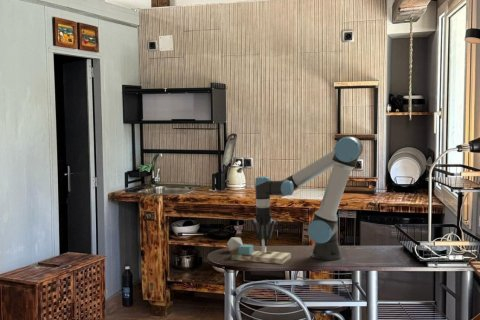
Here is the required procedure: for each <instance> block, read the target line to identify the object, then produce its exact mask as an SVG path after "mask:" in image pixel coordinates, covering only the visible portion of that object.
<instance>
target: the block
mask: <svg viewBox="0 0 480 320" xmlns="http://www.w3.org/2000/svg"><path fill="white" fill-rule="evenodd" d="M254 247H255V246H254V245H253V244H245V243H244V244H243V245H241V246H239V254H243V255H250V254H252V253H254V251H255V250H254Z"/></svg>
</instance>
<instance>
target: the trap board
mask: <svg viewBox="0 0 480 320" xmlns="http://www.w3.org/2000/svg"><path fill="white" fill-rule="evenodd" d="M240 246H241V245H240ZM229 252H230V260H231V261H232V260H233V261H240V262H241V261H242V262H245V261H246V262H253V263H265V264H267V263H268V264H278V265H279V264H280V265H283V264H284V263H286V262H287V261H289V260H290V259H291V258H292V257H291V256H292V254H291V252H282V251H267V250H266V252H265V253H262V250H254V253H252V254H250V255H243V254H239V246H238V247H236V248H234V249H233V250H231V251H229Z"/></svg>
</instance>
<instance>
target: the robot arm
mask: <svg viewBox="0 0 480 320" xmlns="http://www.w3.org/2000/svg"><path fill="white" fill-rule="evenodd" d="M363 149H364V146H363V144H362V141H361V140H360V139H359V138H357V137H356V136H343V137H342V138H340V139H338V141H337V142H336V144H335V145H334V147H333V149H332V151H330V152H328V153H327V154H325V155H323V156H322V157H319V158H318V159H317V160H315V161H312V163H310V164H308V165H306V166H305V167H303V168H302V169H299V170H298V171H297V172H295V173H292V175H290V176H288V177H286V178H284V179H281V180H271V179H270V177H269V176H257V177H256V178H255V181H254V183H255V185H254V187H255V189H254V190H255V191H254V192H255V218H254V219H251V221H250V222H251V224H252V225H253V230H254V233H255V237H256V239H257V240H259V245H260V246H261V251H262V253H265V252H266V251H267V247H268V246H269V240H270V239H271V238H272V236H273V232H274V226H275V224H276V223H277V220H276V219H275V220H274V219H273V218H272V216H271V214H272V213H271V196H280V197H281V196H282V197H283V196H284V197H288V196H290V197H291V196H292V195H293V194H294V191H295V190H297V189H299V188H301V187H303V186H304V185H306V184H307V183H309V182H311V181H312V180H314V179H316V178H318V177H320V176H321V175H323V174H324V173H327V172H328V171H329V170H331V172H330V176H329V178H328V180H327V184H326V187H325V191H324V193H323V196H322V200H321V203H320V204H319V205H320V206H319V209H318V210H315V211H314V214H313V217H312V220H311V222H310V224H309V225H308V228H307V235H308V237H309V239H310V240H311V241H313V242H314V245H313V248H312V250H311V257H312V258H313V259H316V260H322V261H323V260H324V261H333V260H340V259H341V258H342V252H341V251H342V250H341V248H340V246H339V241H338V238H339V237H338V235H339V233H338V232H339V231H338V229H339V225H338V223H339V222H338V221H339V216H338V214H337V213H338V210H339V206H340V203H341V200H342V197H343V195H344V191H345V190H346V189H345V188H346V185H347V182H348V180H349V177H350V175H351V174H350V173H351V171H352V170H353V169H355V168H356V166H357V163H358V161H359V158H360V157H361V155H362V154H363V151H364V150H363ZM269 223H270V225H269Z"/></svg>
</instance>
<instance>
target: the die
mask: <svg viewBox="0 0 480 320" xmlns="http://www.w3.org/2000/svg"><path fill="white" fill-rule="evenodd" d="M226 245H227V248H228V249H229V250H228V251H229V252H230V251H231V250H233V249H234V248H236V247H238V246H240V245H243V240H242V238H241V237H237V236H235V237H230V239H229V240H228V242H226Z"/></svg>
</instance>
